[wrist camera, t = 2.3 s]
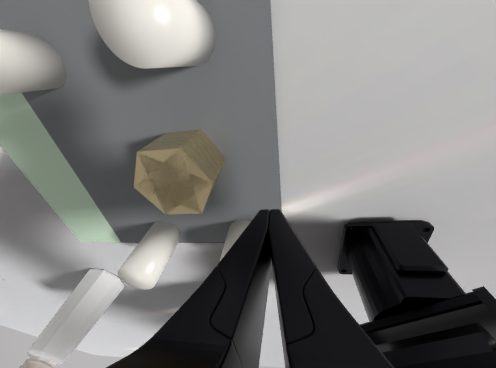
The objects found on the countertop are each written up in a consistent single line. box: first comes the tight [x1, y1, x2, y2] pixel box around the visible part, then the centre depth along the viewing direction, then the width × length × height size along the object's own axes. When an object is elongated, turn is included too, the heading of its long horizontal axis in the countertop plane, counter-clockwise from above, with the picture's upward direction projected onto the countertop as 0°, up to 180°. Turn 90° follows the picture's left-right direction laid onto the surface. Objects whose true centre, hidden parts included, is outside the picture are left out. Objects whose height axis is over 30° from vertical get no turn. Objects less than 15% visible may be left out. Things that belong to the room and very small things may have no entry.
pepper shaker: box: [20, 269, 124, 368], centre depth 22 cm, size 5×5×11 cm
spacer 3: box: [118, 221, 181, 290], centre depth 18 cm, size 3×3×5 cm
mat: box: [0, 0, 282, 243], centre depth 15 cm, size 20×23×1 cm
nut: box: [134, 129, 226, 215], centre depth 13 cm, size 5×5×4 cm
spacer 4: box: [220, 220, 251, 261], centre depth 16 cm, size 3×3×5 cm
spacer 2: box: [88, 0, 216, 69], centre depth 9 cm, size 3×3×5 cm
